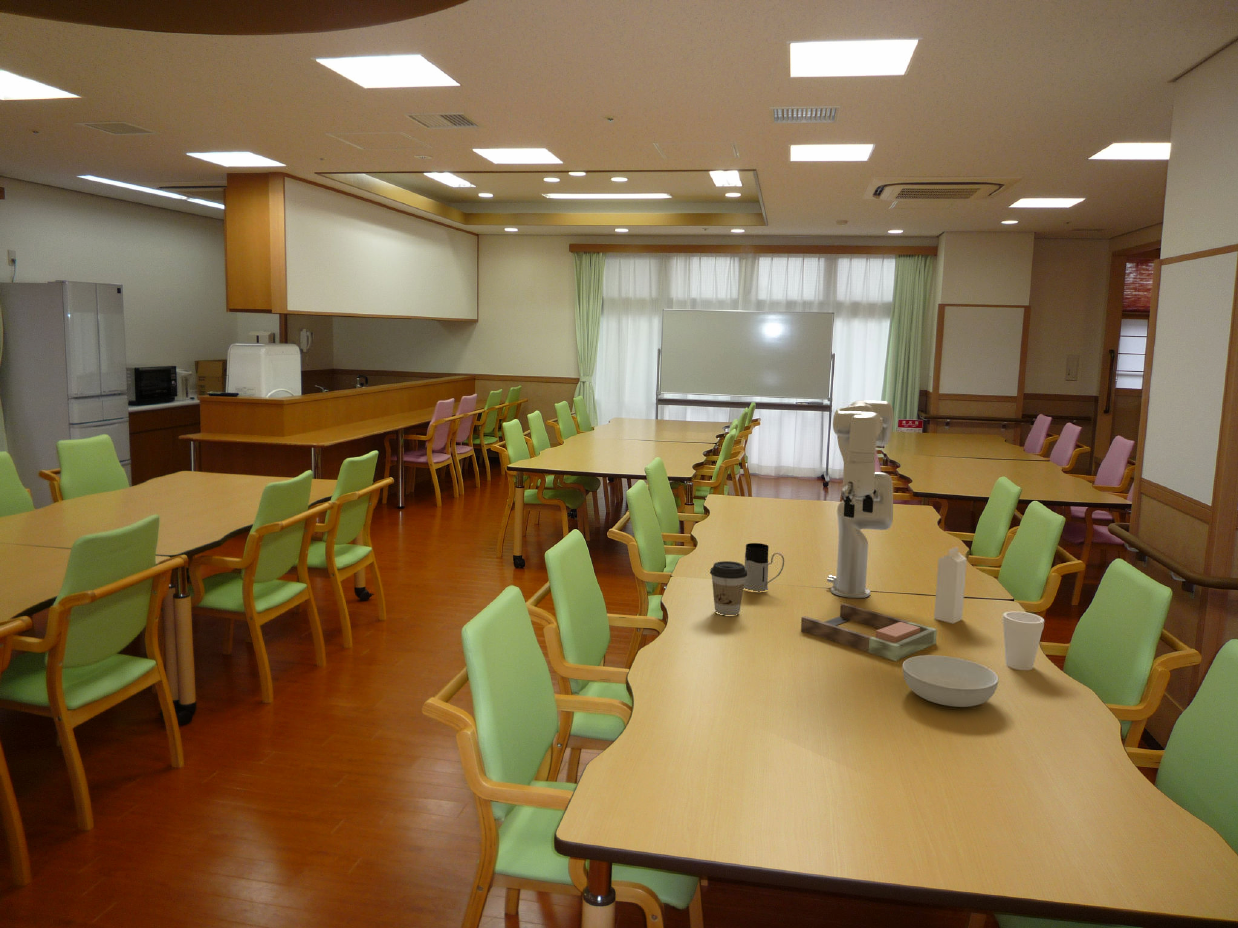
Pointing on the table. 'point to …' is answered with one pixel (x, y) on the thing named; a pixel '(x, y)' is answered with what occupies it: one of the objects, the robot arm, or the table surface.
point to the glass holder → (758, 567)
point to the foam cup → (1021, 638)
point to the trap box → (865, 641)
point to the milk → (950, 587)
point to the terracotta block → (897, 632)
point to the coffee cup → (728, 586)
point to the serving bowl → (949, 680)
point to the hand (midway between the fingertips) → (858, 514)
